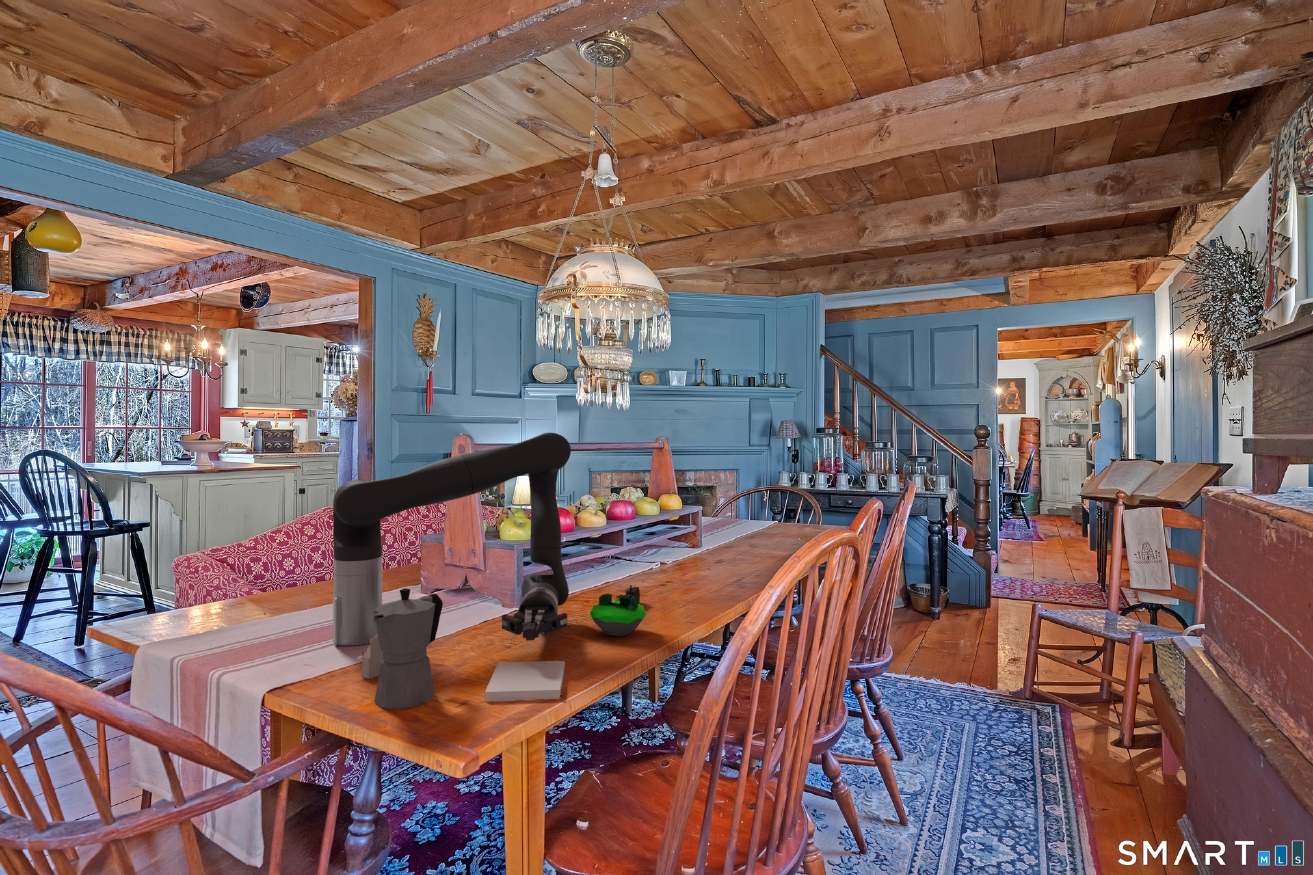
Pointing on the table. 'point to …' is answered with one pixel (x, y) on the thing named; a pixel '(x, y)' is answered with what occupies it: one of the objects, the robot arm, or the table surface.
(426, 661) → the coffeepot
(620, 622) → the floating island model
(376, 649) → the architectural model
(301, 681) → the table surface
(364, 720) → the table surface
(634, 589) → the hand tool
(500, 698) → the tile
